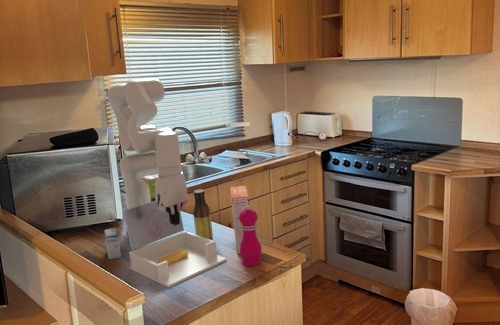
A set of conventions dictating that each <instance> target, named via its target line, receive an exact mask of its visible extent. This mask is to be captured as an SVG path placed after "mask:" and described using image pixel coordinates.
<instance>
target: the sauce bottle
mask: <svg viewBox="0 0 500 325" xmlns="http://www.w3.org/2000/svg"><path fill="white" fill-rule="evenodd" d="M205 193H206V192H205V190H204V189H195V190H194V191H193V196H194V206H193V207H194V208H193V213H192V214H193V222H194V231H195V234H196V235H199V236H202V237H205V238H207V239H210V240H213V239H214V234H213V227H212V225H213V224H212V216H211V213H210V207H209V204H207V203H206V197H205ZM213 241H214V240H213Z"/></svg>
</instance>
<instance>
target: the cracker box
mask: <svg viewBox="0 0 500 325" xmlns="http://www.w3.org/2000/svg"><path fill="white" fill-rule="evenodd" d="M230 197H231V198H230V199H231V209H232V210H231V211H232V220H233V222H232V223H233V228H234V229H233V230H234V240H235V246H236V247H235V248H236V252H237V255H241V254H240V245H241V242H242V239H243V230H242V229H241V227H242V226H241V224H242V223H241V222H240V220H239V215H240V213H241V212H242V211H243V210H245V206H246V205H249V206H250V202H249V200H250V199H249V195H248V189H247V186H246V185H239V186H236V185H235V186H231V187H230Z"/></svg>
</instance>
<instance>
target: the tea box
mask: <svg viewBox="0 0 500 325" xmlns="http://www.w3.org/2000/svg"><path fill="white" fill-rule="evenodd" d="M156 176H158V174H154V175H149V176H144V177H142V180H143V181H145V182H146V183H147V184H148V186H149V191H150V199H151V202H153V201H156V199H155V181H156Z"/></svg>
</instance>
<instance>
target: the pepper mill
mask: <svg viewBox="0 0 500 325" xmlns="http://www.w3.org/2000/svg"><path fill="white" fill-rule="evenodd" d="M239 220H240V222H241V223H242V224H241V226H242V227H241V229H242V230H243V239H242V242H241V245H240V254H239V255H241V256H242V258H241V262H242V265H244V266H246V267H255V266H259V265H260V264H261V263H262V256H261V254H262V251H263V250H262V249H263V248H262V245H261V243H260V241H259V239H258V237H257V233H256V230H257V223H256V222H257V221H258V214H257V212H256V211H255V210H254V209H251V206H250V204H249V205H246V206H245V210H243V211H242V212H241V213H240V215H239Z"/></svg>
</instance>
